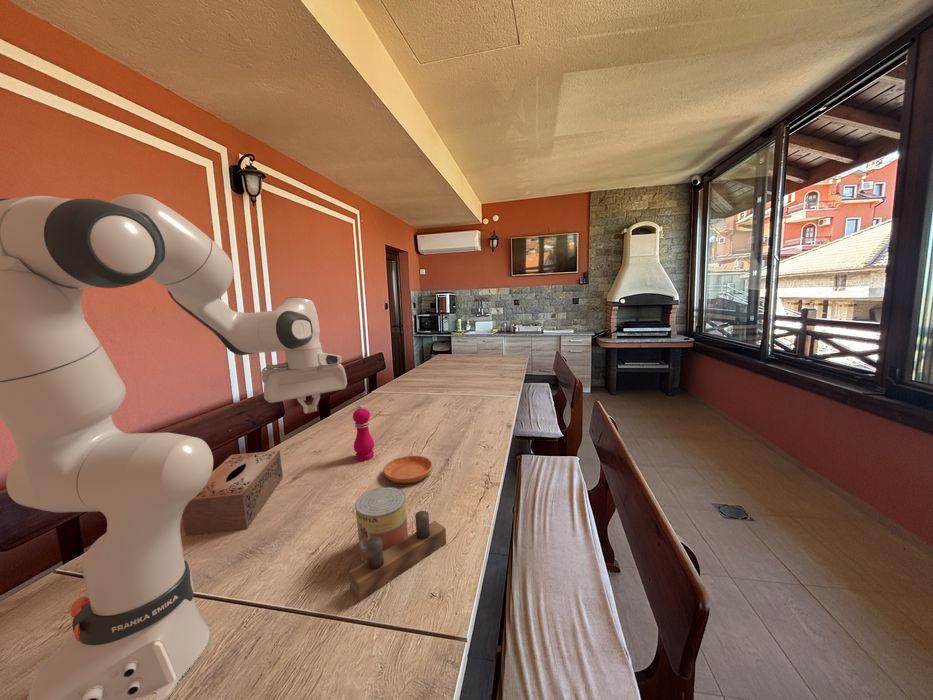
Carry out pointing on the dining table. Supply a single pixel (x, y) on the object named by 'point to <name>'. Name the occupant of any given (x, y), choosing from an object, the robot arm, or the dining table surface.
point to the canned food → (381, 518)
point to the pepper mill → (363, 435)
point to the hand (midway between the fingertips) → (310, 412)
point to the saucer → (408, 469)
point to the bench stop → (396, 556)
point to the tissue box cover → (233, 494)
